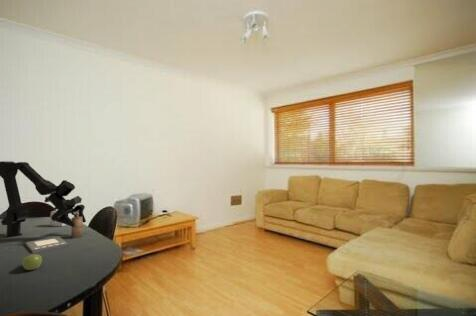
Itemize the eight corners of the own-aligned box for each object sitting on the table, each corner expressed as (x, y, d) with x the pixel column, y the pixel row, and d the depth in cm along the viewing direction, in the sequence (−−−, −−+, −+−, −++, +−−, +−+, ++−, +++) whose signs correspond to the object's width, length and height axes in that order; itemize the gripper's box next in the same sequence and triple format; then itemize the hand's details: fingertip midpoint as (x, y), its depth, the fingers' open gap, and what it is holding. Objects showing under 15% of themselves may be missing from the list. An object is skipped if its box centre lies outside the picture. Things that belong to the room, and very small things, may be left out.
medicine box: (67, 224, 158) (67, 210, 159) (61, 226, 154) (62, 212, 154) (55, 224, 159) (56, 210, 159) (49, 226, 155) (50, 211, 155)
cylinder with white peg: (70, 236, 134) (70, 211, 134) (80, 234, 137) (81, 210, 138) (72, 238, 131) (73, 213, 131) (83, 236, 134) (84, 211, 134)
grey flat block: (25, 244, 120) (25, 241, 120) (58, 238, 130) (58, 236, 130) (32, 253, 109) (33, 249, 109) (68, 246, 119) (68, 243, 119)
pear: (22, 257, 90) (23, 253, 98) (21, 273, 89) (23, 268, 97) (42, 254, 93) (42, 250, 101) (41, 269, 92) (41, 264, 100)
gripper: (57, 193, 125) (79, 216, 125) (82, 189, 144) (100, 210, 143) (41, 209, 125) (62, 232, 125) (67, 203, 144) (86, 223, 143)
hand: (79, 223), depth 134 cm, fingers open, 9 cm apart
